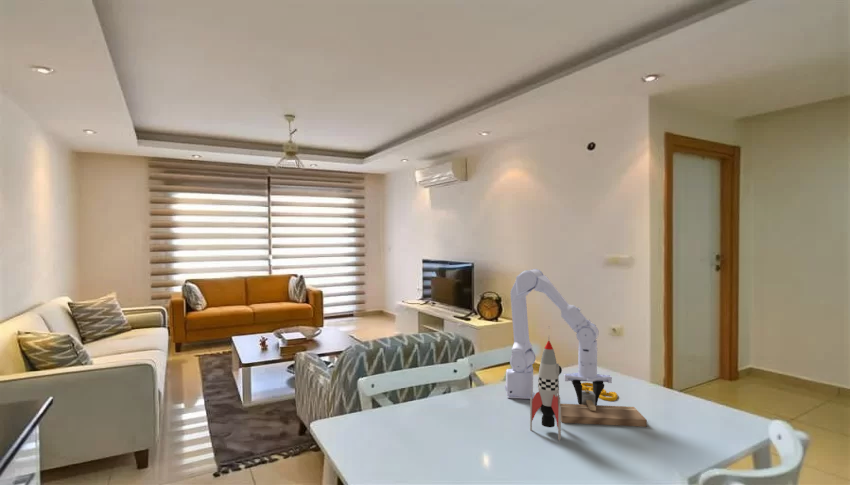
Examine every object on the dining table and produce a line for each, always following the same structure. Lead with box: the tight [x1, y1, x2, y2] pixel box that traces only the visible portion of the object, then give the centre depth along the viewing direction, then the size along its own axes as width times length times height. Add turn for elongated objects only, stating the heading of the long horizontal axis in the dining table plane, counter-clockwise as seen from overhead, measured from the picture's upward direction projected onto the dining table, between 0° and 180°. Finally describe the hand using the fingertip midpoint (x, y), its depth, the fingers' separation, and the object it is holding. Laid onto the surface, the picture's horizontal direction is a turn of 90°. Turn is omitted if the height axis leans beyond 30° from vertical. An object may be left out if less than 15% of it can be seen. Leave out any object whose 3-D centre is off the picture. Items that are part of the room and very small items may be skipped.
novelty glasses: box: [581, 382, 618, 402], centre depth 156 cm, size 17×2×10 cm
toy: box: [529, 325, 563, 441], centre depth 124 cm, size 9×8×30 cm
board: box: [560, 403, 648, 428], centre depth 134 cm, size 24×10×2 cm, turn 84°
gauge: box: [582, 390, 596, 411], centre depth 138 cm, size 4×10×6 cm, turn 172°
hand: (587, 403), depth 141 cm, fingers closed on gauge, 4 cm apart
